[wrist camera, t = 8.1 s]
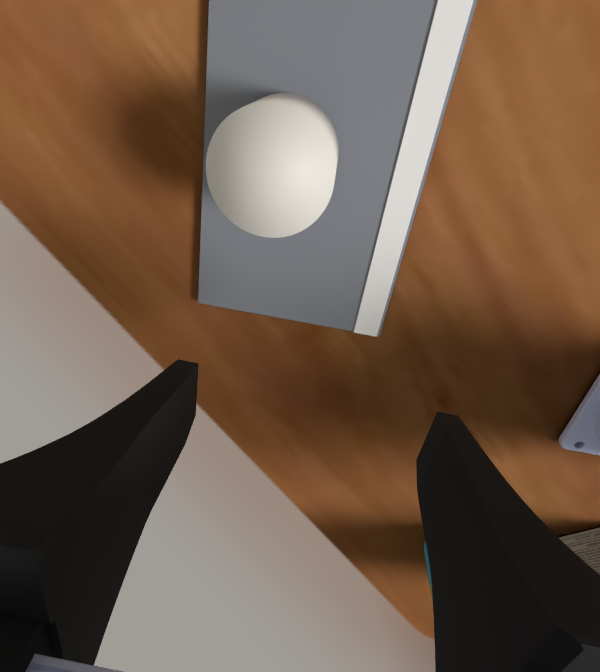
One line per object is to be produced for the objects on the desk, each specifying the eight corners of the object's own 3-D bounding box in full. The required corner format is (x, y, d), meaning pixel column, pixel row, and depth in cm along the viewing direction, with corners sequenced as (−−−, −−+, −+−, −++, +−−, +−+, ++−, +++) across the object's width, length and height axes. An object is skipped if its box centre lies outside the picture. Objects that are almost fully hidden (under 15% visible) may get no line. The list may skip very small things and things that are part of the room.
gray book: (495, -68, 15) (499, -72, 15) (379, 332, 24) (379, 337, 23) (216, -118, 15) (212, -123, 15) (200, 299, 24) (197, 303, 23)
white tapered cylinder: (348, 102, 18) (346, 115, 14) (328, 212, 20) (322, 247, 17) (239, 83, 18) (208, 90, 14) (231, 194, 20) (203, 225, 17)
